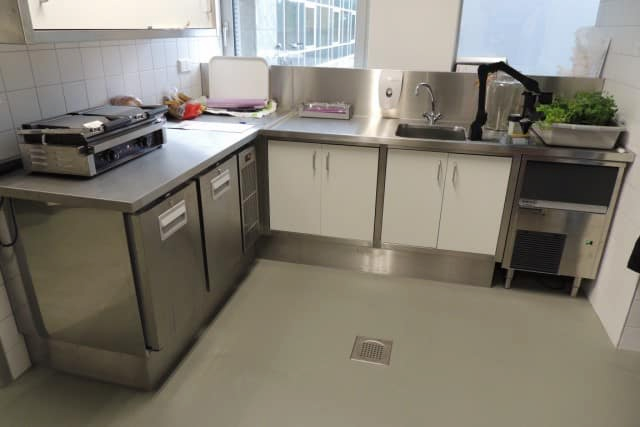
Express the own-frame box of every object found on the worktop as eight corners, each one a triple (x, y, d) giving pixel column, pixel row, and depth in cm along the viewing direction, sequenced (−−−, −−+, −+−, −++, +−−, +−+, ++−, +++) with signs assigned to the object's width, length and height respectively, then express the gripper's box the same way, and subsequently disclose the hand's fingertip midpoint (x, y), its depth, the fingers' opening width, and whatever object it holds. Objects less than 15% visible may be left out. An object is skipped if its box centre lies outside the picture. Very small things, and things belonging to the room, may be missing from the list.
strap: (505, 137, 241) (506, 135, 241) (503, 136, 244) (503, 134, 243) (530, 136, 243) (530, 134, 242) (527, 135, 246) (527, 133, 245)
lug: (528, 145, 241) (530, 136, 239) (526, 144, 243) (527, 135, 241) (532, 145, 241) (534, 136, 239) (529, 144, 244) (531, 135, 242)
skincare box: (511, 137, 259) (515, 115, 254) (506, 135, 263) (510, 114, 258) (521, 137, 260) (525, 115, 256) (516, 135, 264) (520, 113, 260)
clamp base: (507, 146, 239) (509, 136, 237) (497, 141, 249) (498, 131, 247) (536, 145, 241) (538, 135, 239) (525, 141, 251) (527, 130, 249)
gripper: (520, 107, 229) (515, 138, 235) (555, 106, 231) (550, 137, 237) (509, 104, 239) (504, 133, 245) (542, 102, 242) (537, 132, 248)
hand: (524, 134), depth 244 cm, fingers closed, pressing on strap
